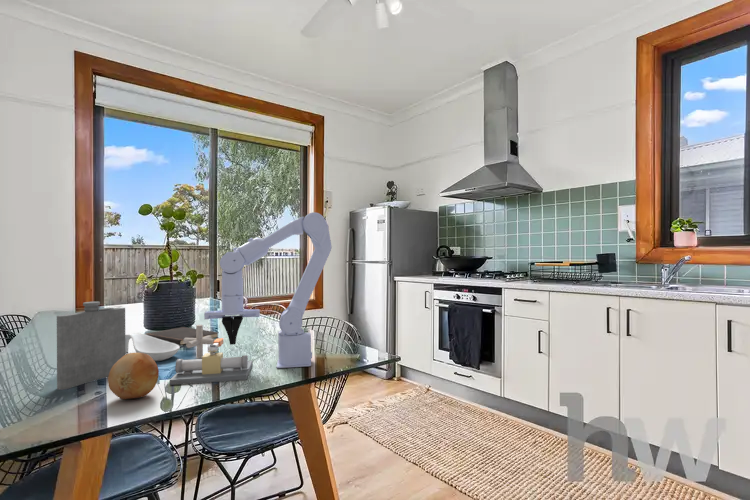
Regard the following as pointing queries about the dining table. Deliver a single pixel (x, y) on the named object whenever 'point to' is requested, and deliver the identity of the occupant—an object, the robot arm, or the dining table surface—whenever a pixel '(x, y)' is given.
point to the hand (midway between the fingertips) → (232, 343)
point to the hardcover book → (179, 334)
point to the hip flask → (89, 344)
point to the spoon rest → (152, 346)
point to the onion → (133, 376)
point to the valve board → (211, 376)
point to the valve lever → (215, 345)
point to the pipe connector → (198, 341)
